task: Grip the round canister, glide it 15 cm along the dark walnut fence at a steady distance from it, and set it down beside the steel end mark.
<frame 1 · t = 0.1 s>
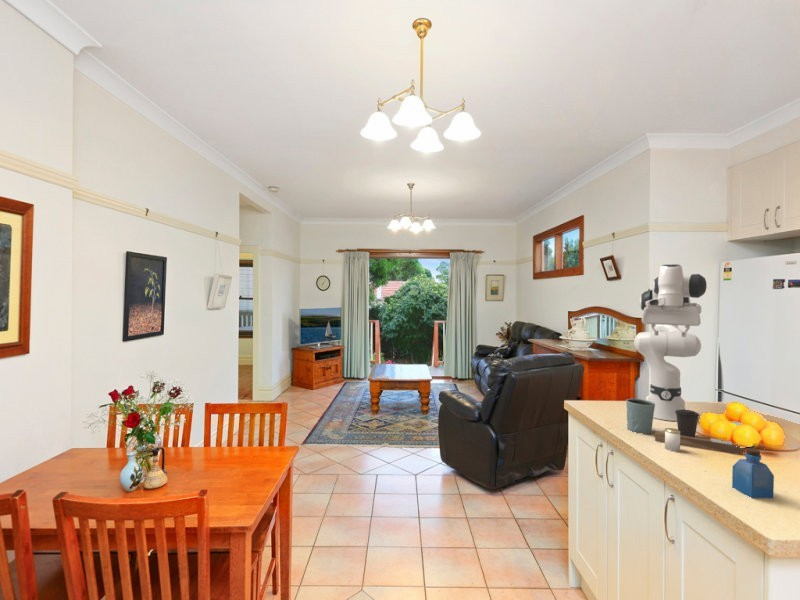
hand: (669, 336, 169), 39 cm above the worktop, tool pointing down, fingers open, 8 cm apart
walnut fence: (696, 446, 151), on the worktop
medicine box: (740, 446, 152), on the worktop
coffee cup: (686, 436, 163), on the worktop
grey-green plant pot: (639, 431, 168), on the worktop
round canister: (672, 449, 148), on the worktop
perfume bottle: (752, 493, 115), on the worktop
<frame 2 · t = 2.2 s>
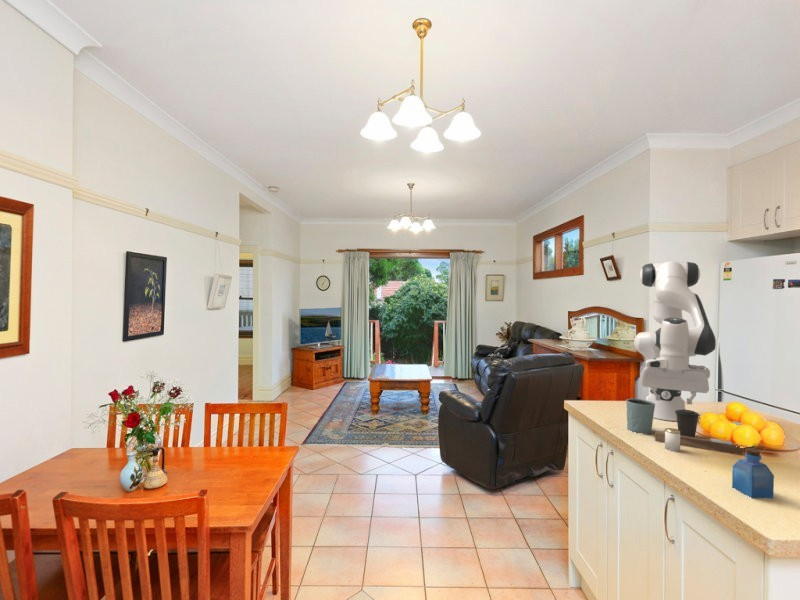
hand: (673, 402, 147), 17 cm above the worktop, tool pointing down, fingers open, 8 cm apart
nothing on the worktop moved.
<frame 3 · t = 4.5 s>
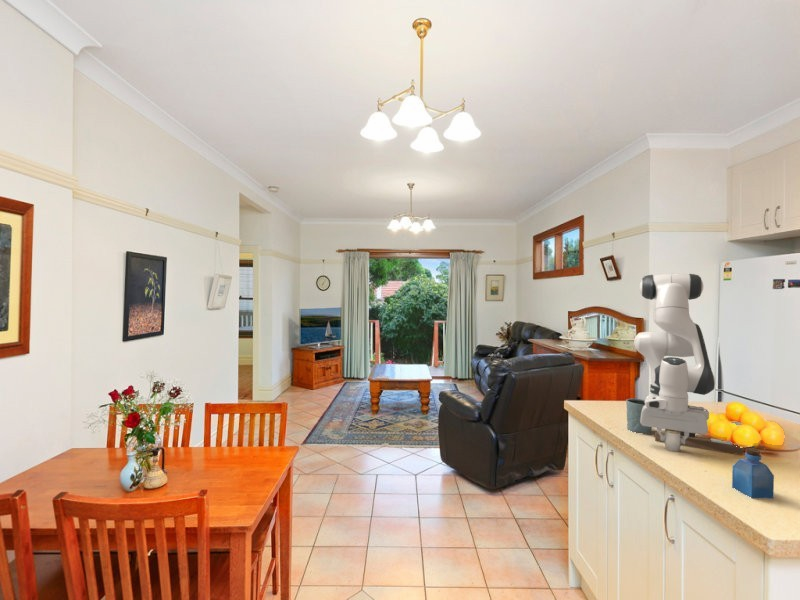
hand: (672, 442, 148), 3 cm above the worktop, tool pointing down, fingers closed on round canister, 4 cm apart
round canister: (672, 449, 148), on the worktop, touching gripper
everything else where it was.
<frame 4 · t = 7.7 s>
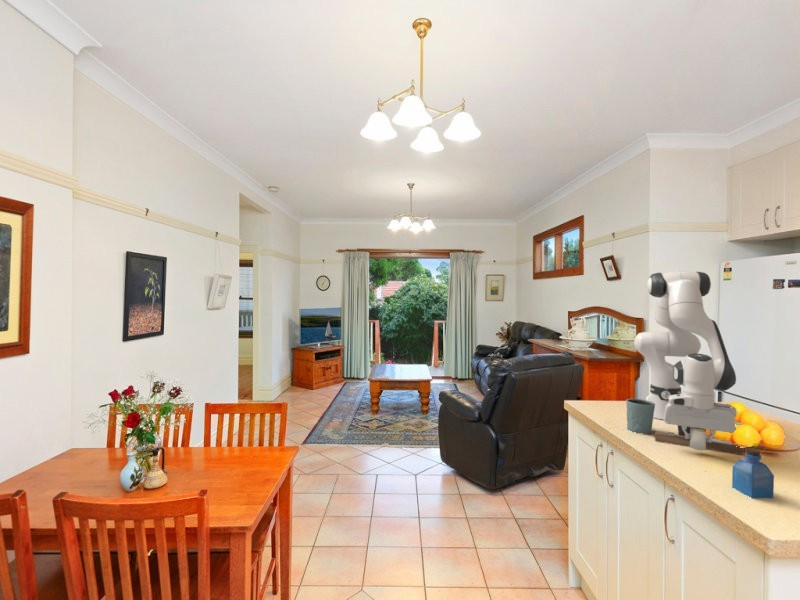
hand: (697, 440, 144), 5 cm above the worktop, tool pointing down, fingers closed on round canister, 4 cm apart
round canister: (697, 447, 144), point 2 cm above the worktop, touching gripper
everything else where it was.
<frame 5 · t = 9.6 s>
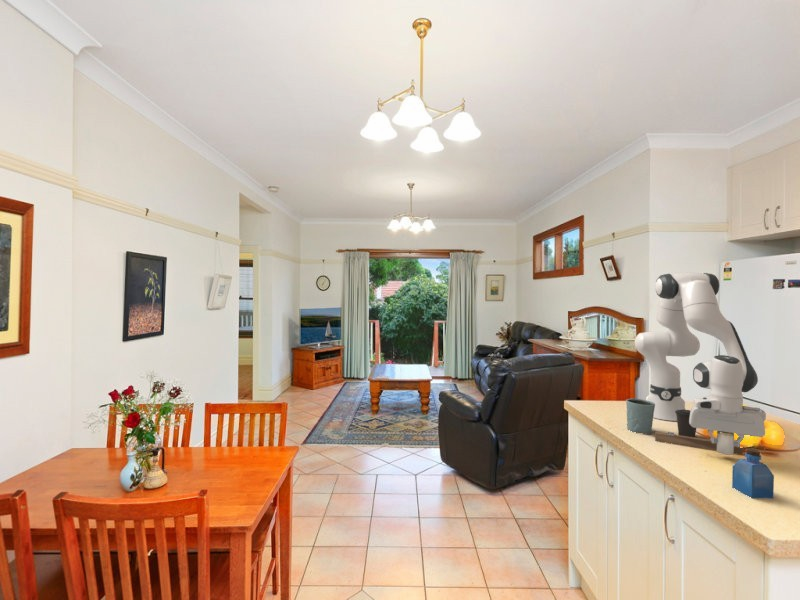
hand: (725, 444, 140), 5 cm above the worktop, tool pointing down, fingers closed on round canister, 4 cm apart
round canister: (725, 452, 140), point 2 cm above the worktop, touching gripper
everything else where it was.
when the fingers open (3 cm above the worktop, at t = 11.1 s): round canister stays where it is, on the worktop.
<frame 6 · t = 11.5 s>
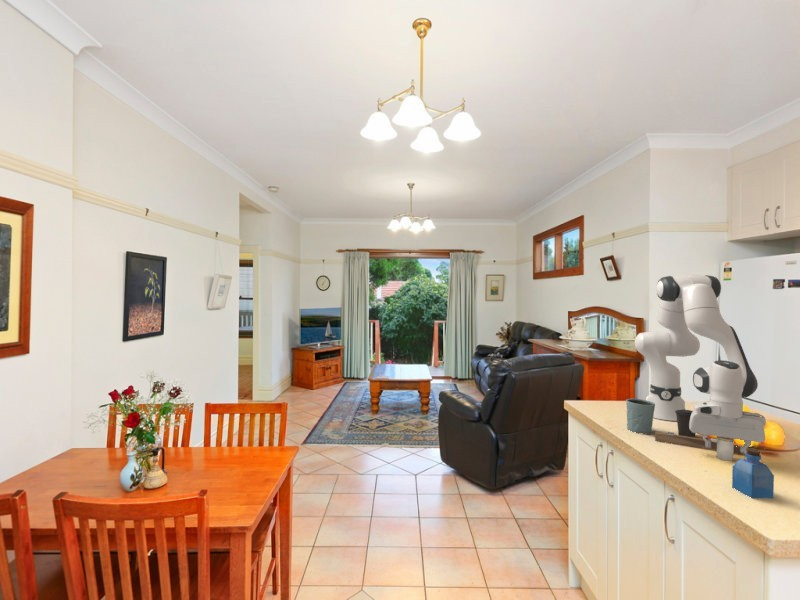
hand: (725, 449, 140), 3 cm above the worktop, tool pointing down, fingers open, 8 cm apart
round canister: (724, 458, 140), on the worktop
everything else where it was.
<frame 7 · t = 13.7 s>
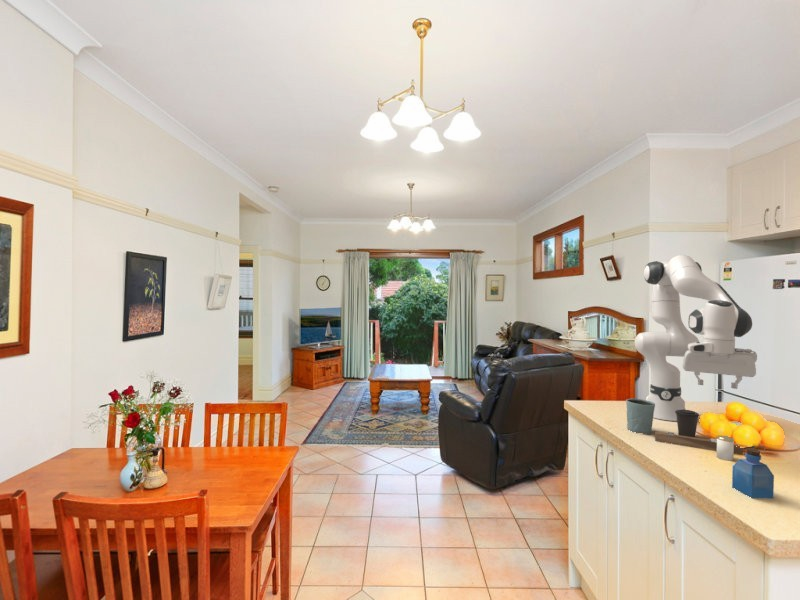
hand: (717, 386, 144), 24 cm above the worktop, tool pointing down, fingers open, 8 cm apart
nothing on the worktop moved.
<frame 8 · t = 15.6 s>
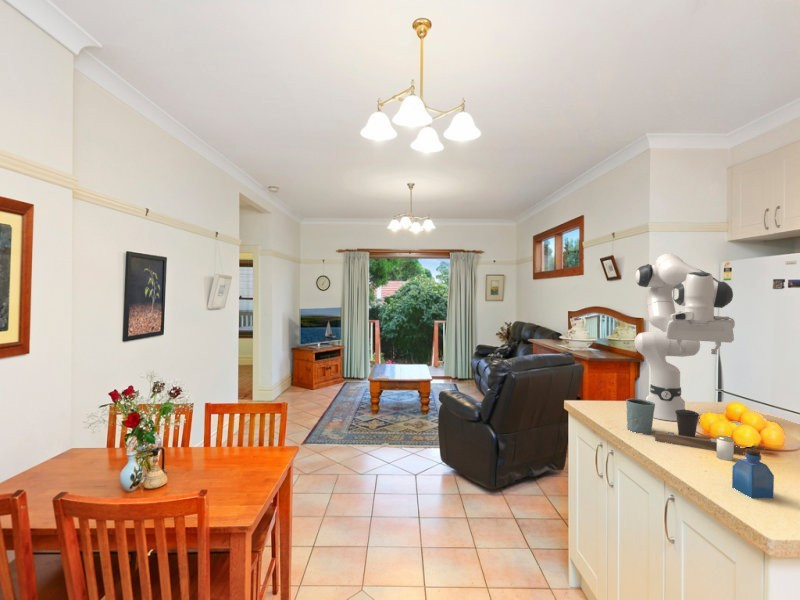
hand: (698, 353, 152), 34 cm above the worktop, tool pointing down, fingers open, 8 cm apart
nothing on the worktop moved.
at the end: round canister 0.0 cm from the target spot, on the worktop; round canister tilted 0°; the gripper is holding nothing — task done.
